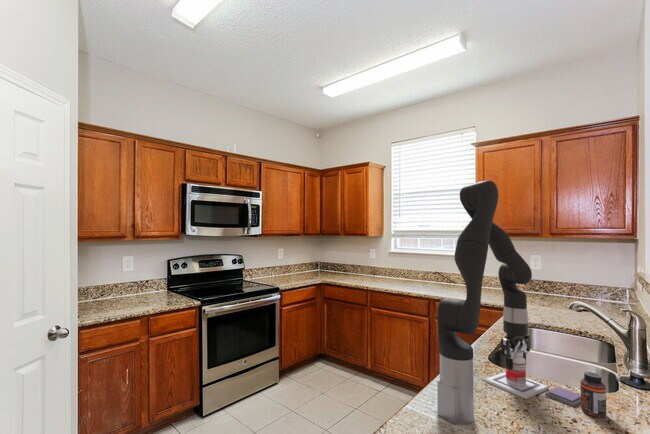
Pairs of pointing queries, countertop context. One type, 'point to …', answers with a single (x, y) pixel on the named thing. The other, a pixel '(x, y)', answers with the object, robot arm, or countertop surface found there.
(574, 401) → the ink pad
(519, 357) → the pill bottle
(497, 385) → the board
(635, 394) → the countertop surface
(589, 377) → the supplement bottle
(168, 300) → the countertop surface
